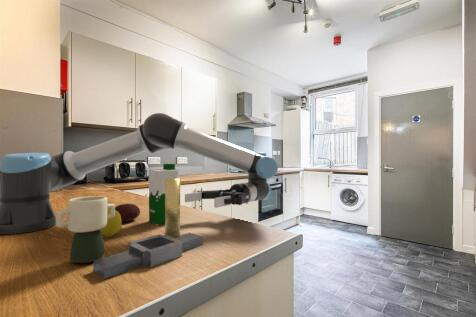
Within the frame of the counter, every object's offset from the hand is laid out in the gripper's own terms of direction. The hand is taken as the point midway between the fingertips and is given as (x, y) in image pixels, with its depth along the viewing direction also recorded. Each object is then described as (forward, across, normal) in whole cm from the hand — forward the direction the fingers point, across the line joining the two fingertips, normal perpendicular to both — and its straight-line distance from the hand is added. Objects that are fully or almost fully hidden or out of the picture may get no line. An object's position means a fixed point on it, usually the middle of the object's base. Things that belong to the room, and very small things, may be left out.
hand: (199, 200), depth 72 cm
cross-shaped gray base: (+20, -8, -9) cm, 23 cm away
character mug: (+30, +1, -9) cm, 31 cm away
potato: (+10, +27, -9) cm, 30 cm away
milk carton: (+2, +17, -9) cm, 19 cm away
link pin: (+10, 0, -9) cm, 13 cm away
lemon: (+21, +13, -9) cm, 26 cm away
